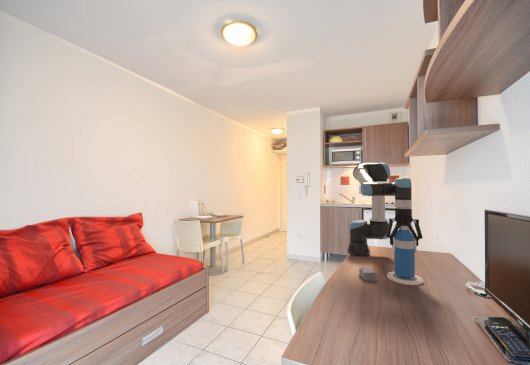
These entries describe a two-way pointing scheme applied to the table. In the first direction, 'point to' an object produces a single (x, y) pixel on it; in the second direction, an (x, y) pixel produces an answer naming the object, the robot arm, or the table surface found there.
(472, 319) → the table surface
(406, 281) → the cream plate
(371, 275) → the box
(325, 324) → the table surface
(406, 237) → the water bottle
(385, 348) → the table surface
